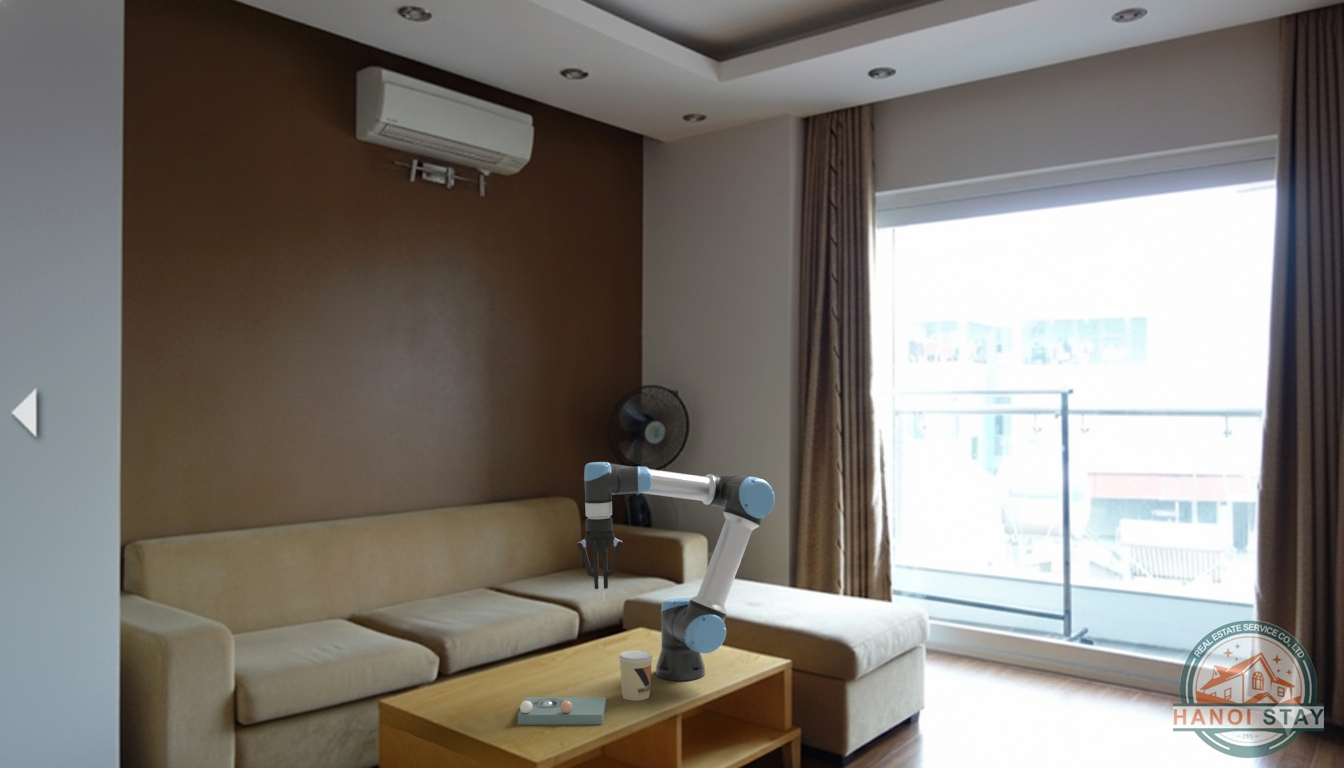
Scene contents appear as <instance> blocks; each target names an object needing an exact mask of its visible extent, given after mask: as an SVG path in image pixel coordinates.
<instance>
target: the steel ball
mask: <svg viewBox="0 0 1344 768" xmlns="http://www.w3.org/2000/svg"><path fill="white" fill-rule="evenodd" d="M542 705H543V706H553V703H552V702H551V701H545V702H544V703H543V704H542Z"/></svg>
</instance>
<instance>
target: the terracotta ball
mask: <svg viewBox="0 0 1344 768" xmlns="http://www.w3.org/2000/svg"><path fill="white" fill-rule="evenodd" d="M560 709H561V711H562V712H563V713H569V712H570V711H571V710H572V703H571V702H570V701H567V700H566V701H563V702H562V703H561V705H560Z"/></svg>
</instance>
